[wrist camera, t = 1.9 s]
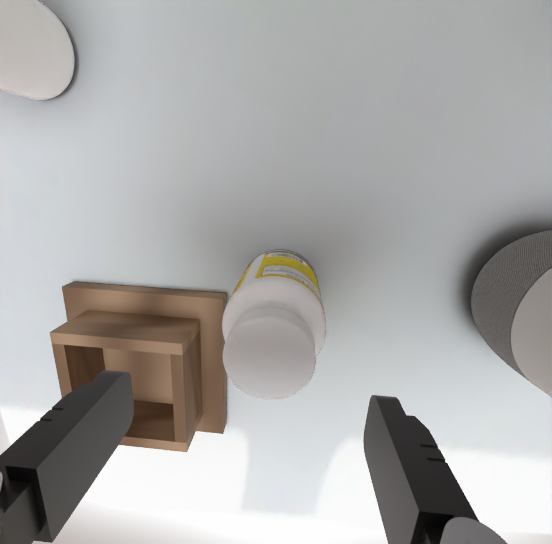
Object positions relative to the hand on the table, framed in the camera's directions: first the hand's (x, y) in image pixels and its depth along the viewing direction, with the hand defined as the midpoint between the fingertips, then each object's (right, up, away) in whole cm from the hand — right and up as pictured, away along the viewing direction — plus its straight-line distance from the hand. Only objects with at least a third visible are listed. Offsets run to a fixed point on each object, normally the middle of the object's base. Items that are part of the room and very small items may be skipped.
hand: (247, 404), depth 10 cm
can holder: (-9, -2, +14) cm, 17 cm away
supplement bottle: (+1, +4, +12) cm, 13 cm away
